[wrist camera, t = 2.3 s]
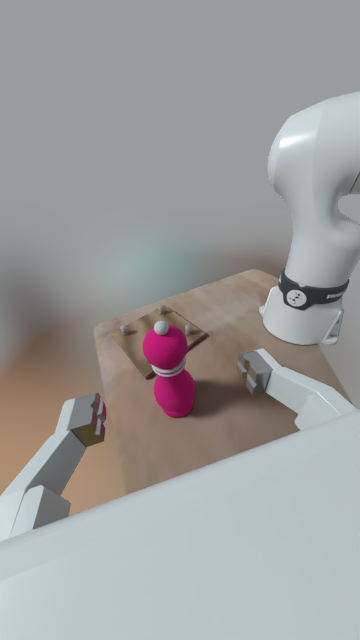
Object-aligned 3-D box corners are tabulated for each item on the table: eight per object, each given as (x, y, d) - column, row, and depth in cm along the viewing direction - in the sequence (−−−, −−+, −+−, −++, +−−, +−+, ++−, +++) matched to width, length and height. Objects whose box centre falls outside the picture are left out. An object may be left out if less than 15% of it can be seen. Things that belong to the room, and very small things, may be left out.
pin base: (164, 308, 57) (162, 298, 55) (205, 336, 46) (205, 326, 44) (112, 336, 49) (107, 327, 47) (146, 379, 38) (142, 369, 36)
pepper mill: (150, 404, 34) (117, 327, 21) (175, 377, 38) (160, 298, 25) (179, 430, 30) (160, 356, 17) (203, 397, 34) (202, 317, 21)
